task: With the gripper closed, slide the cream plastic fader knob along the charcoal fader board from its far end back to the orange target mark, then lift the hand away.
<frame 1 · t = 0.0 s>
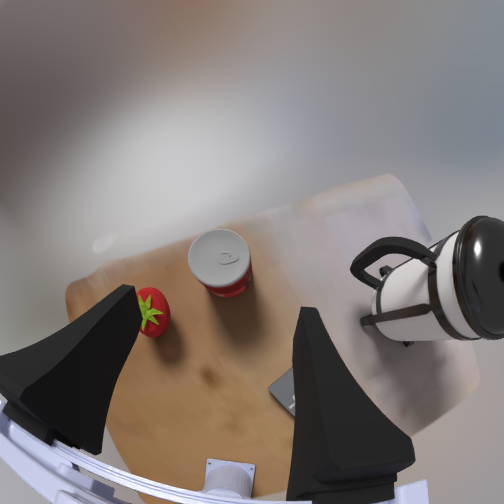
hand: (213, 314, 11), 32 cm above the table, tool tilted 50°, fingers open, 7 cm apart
coffee press: (388, 306, 43), on the table
fader knob: (310, 396, 35), point 4 cm above the table, slide at 5.0 cm
fader board: (324, 410, 38), on the table
strawberry: (163, 315, 43), on the table
canned food: (227, 275, 45), on the table
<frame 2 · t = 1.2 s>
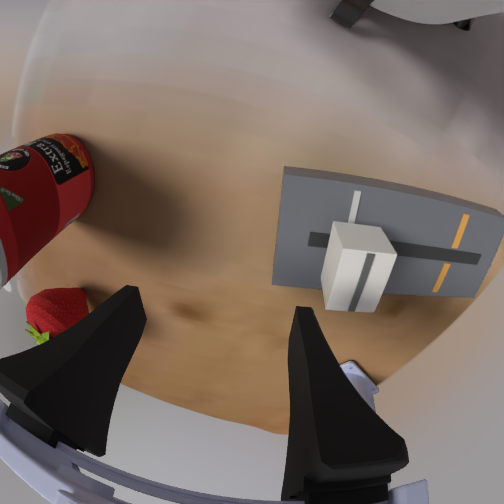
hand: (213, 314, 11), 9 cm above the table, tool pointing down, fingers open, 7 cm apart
fader knob: (353, 262, 15), point 4 cm above the table, slide at 5.0 cm
fader board: (400, 236, 19), on the table
strawberry: (82, 288, 25), on the table
canned food: (65, 174, 19), on the table
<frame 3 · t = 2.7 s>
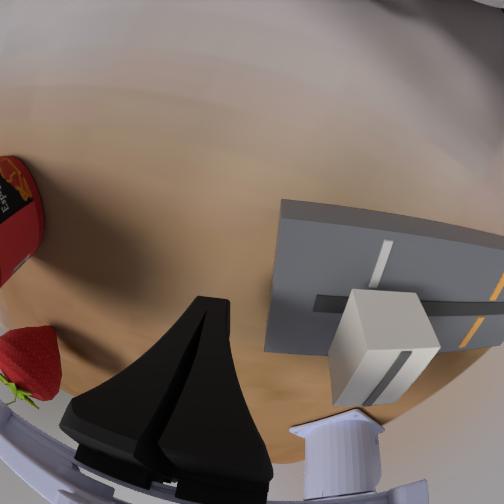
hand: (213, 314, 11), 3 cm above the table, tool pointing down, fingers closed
fader knob: (375, 343, 10), point 4 cm above the table, slide at 5.0 cm
fader board: (430, 285, 14), on the table
strawberry: (52, 325, 20), on the table
canned food: (16, 203, 14), on the table
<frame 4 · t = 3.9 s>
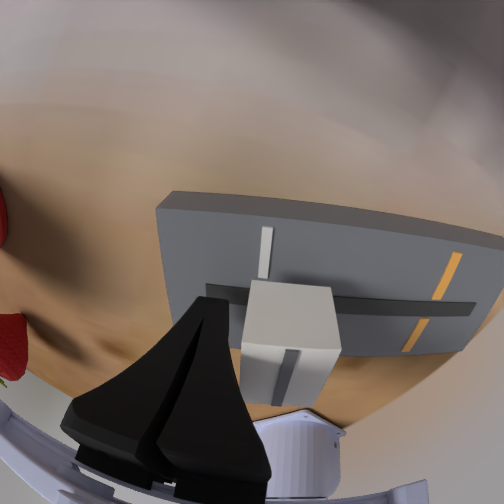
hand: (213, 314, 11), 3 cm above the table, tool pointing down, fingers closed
fader knob: (284, 339, 10), point 4 cm above the table, slide at 3.9 cm, touching gripper
fader board: (356, 280, 14), on the table
strawberry: (23, 313, 21), on the table
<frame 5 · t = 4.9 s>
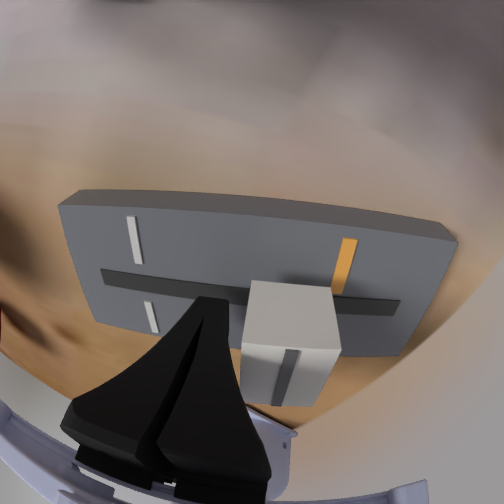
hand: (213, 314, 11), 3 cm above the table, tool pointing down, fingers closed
fader knob: (284, 339, 10), point 4 cm above the table, slide at -1.8 cm, touching gripper
fader board: (249, 270, 14), on the table
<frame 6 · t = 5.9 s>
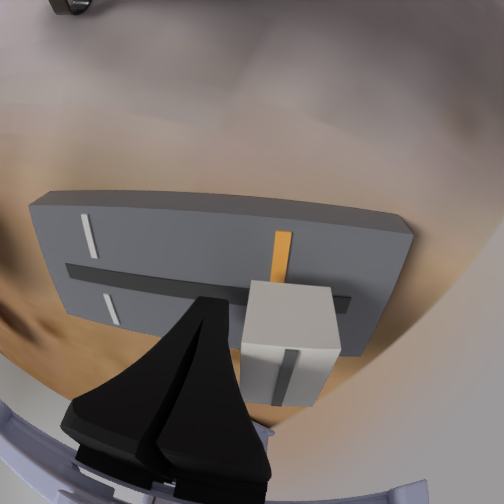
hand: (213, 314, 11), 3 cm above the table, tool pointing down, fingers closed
fader knob: (284, 339, 10), point 4 cm above the table, slide at -4.5 cm, touching gripper
fader board: (199, 265, 14), on the table
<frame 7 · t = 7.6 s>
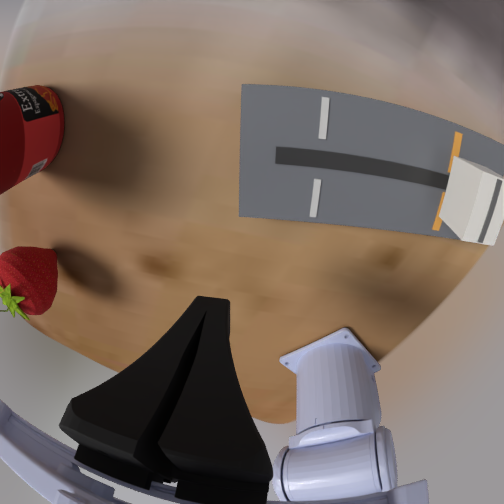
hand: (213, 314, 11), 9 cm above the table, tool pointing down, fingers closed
fader knob: (472, 197, 12), point 4 cm above the table, slide at -4.5 cm
fader board: (387, 163, 16), on the table
strawberry: (54, 250, 23), on the table
canned food: (40, 127, 16), on the table
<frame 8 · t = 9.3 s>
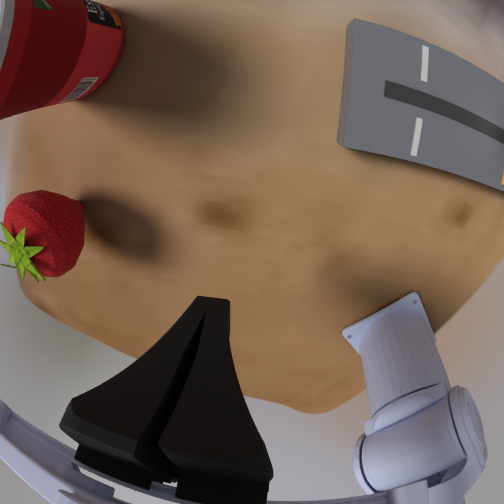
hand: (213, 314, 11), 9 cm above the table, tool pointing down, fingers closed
fader board: (463, 119, 13), on the table
strawberry: (80, 202, 20), on the table
canned food: (87, 52, 13), on the table
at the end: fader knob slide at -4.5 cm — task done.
